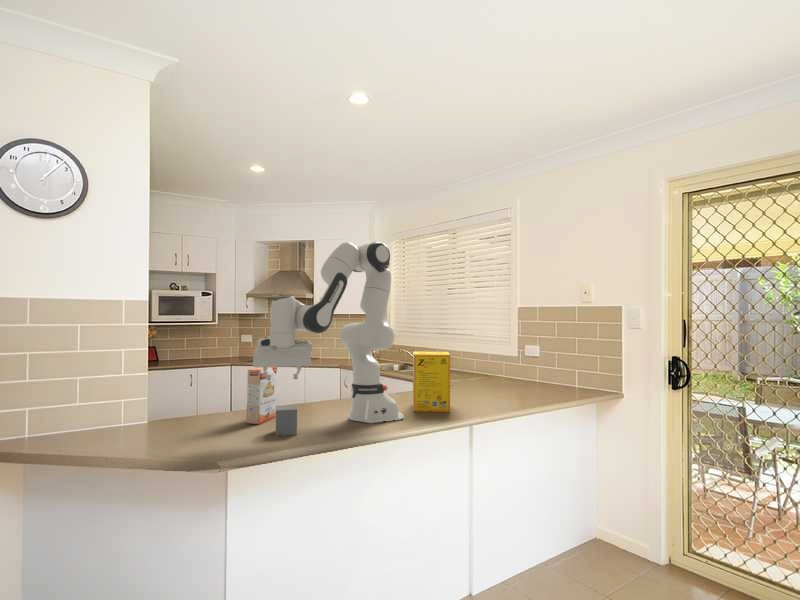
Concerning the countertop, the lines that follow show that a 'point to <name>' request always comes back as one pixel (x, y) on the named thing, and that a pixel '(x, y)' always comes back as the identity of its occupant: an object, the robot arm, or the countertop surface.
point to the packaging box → (431, 381)
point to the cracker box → (261, 395)
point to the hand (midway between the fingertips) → (282, 379)
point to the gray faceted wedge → (286, 420)
